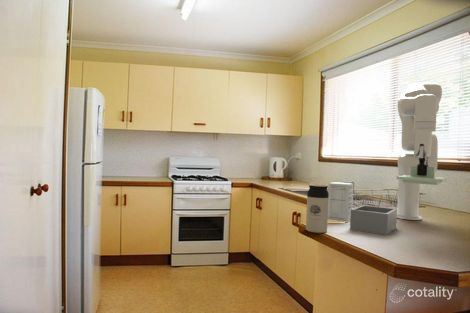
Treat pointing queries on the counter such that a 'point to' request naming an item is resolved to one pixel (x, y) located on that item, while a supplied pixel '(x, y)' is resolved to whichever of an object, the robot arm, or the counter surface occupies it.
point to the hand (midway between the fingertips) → (422, 174)
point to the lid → (422, 177)
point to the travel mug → (317, 208)
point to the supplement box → (340, 201)
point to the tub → (373, 219)
